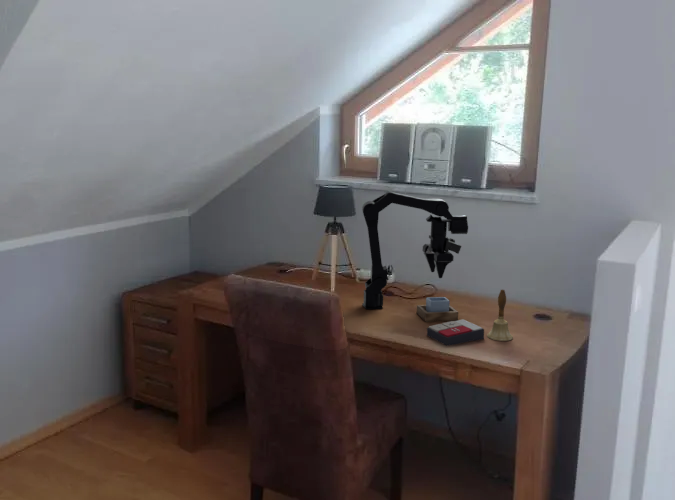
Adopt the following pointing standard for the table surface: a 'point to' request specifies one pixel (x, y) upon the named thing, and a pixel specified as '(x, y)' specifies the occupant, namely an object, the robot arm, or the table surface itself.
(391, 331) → the table surface
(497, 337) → the hand bell
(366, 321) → the table surface
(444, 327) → the grey and red box
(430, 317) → the walnut crate
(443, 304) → the small crate
